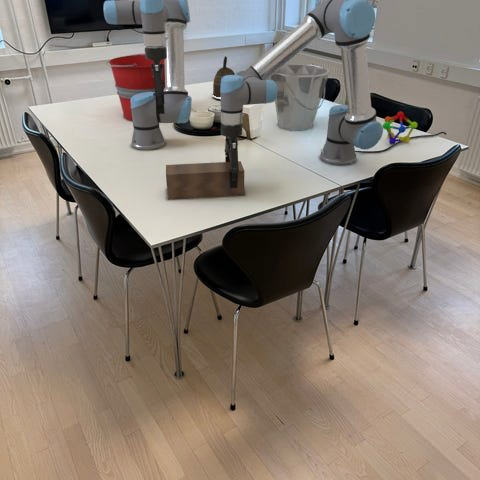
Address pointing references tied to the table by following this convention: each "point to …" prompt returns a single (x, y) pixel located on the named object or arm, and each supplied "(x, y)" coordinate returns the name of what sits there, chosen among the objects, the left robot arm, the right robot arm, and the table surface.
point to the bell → (218, 77)
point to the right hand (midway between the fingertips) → (231, 180)
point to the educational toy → (398, 128)
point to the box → (202, 180)
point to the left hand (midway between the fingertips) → (160, 108)
